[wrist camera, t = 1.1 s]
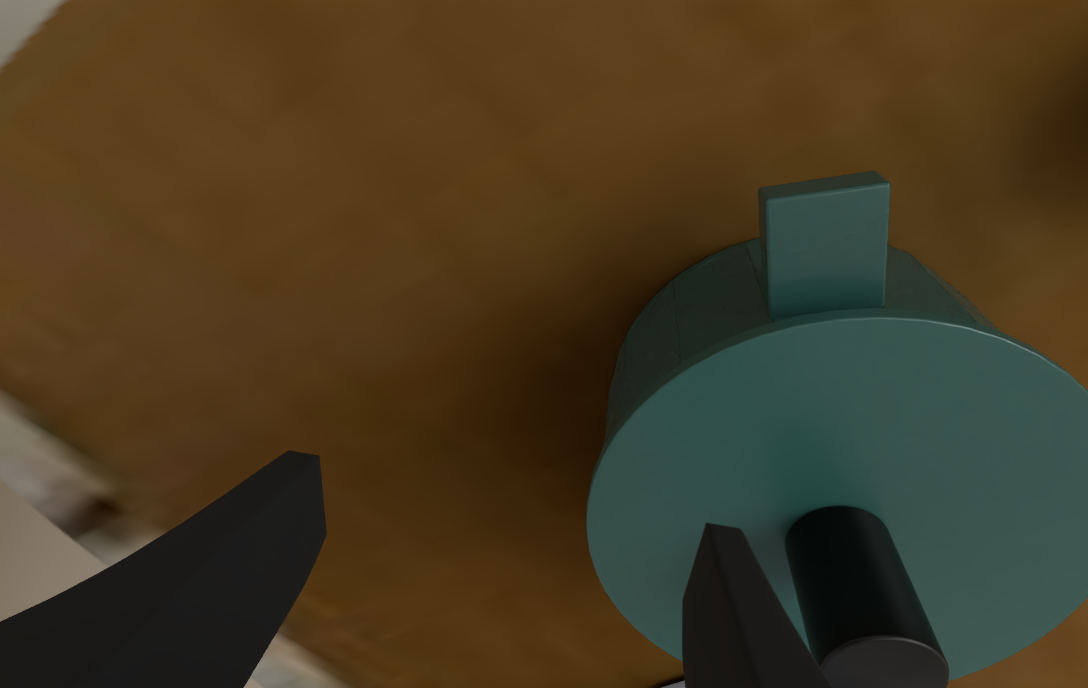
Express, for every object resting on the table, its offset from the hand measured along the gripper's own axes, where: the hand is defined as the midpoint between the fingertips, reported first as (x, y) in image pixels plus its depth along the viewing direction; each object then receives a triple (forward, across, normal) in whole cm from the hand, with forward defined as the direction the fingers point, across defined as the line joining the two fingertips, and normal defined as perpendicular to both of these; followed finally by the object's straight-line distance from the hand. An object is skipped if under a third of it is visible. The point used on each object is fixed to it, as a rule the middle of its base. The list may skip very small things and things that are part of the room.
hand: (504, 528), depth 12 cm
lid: (+4, -8, +2) cm, 9 cm away
